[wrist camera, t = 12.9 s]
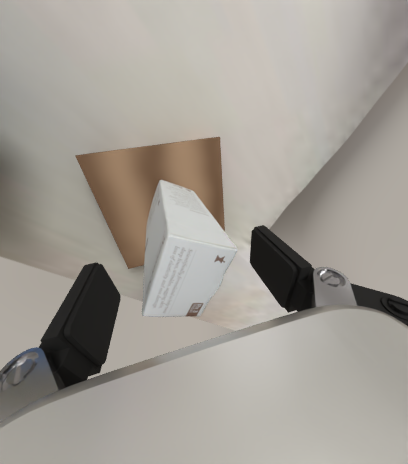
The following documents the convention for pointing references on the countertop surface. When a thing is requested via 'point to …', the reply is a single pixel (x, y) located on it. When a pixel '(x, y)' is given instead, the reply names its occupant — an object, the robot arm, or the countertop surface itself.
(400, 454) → the robot arm
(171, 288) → the skincare box
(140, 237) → the walnut board
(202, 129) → the countertop surface
